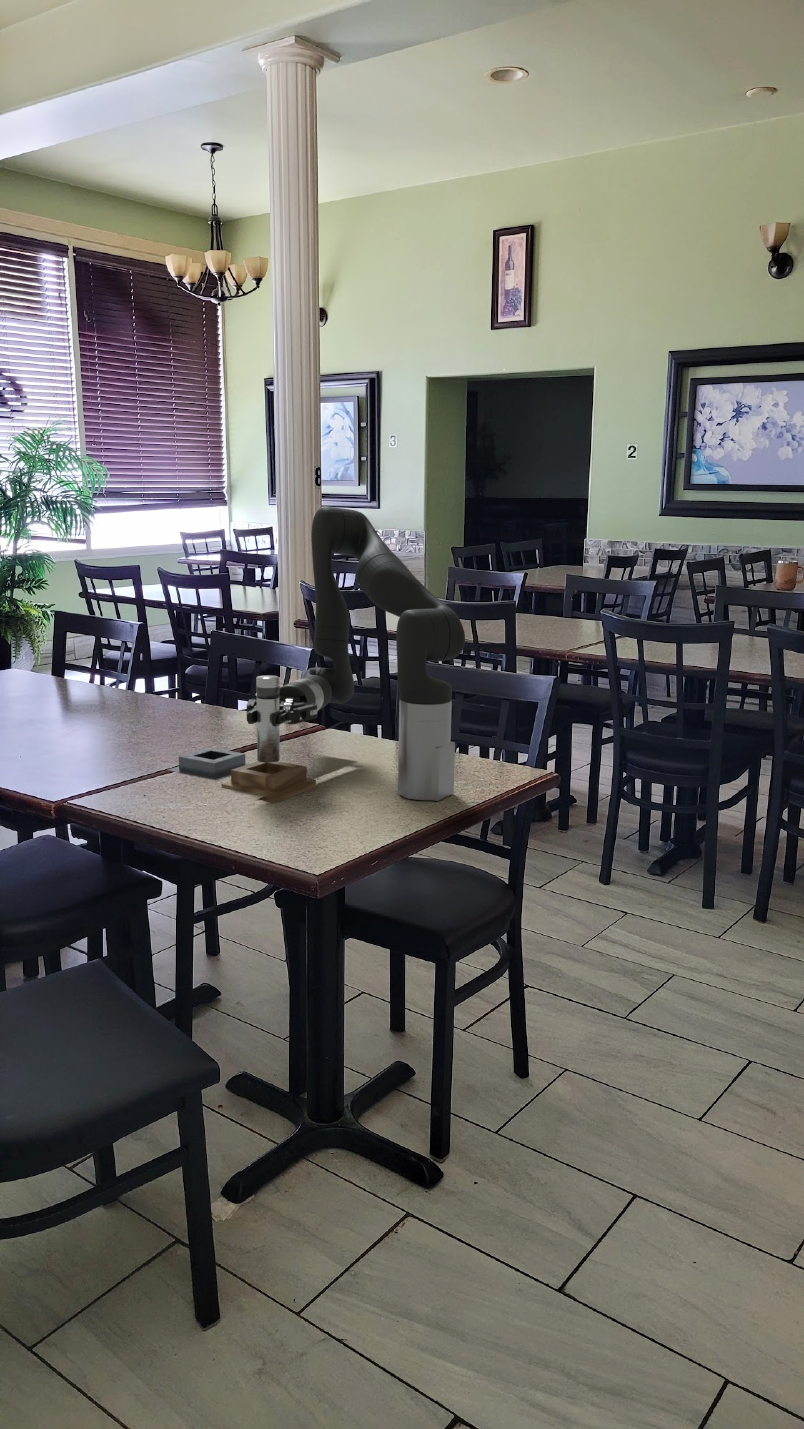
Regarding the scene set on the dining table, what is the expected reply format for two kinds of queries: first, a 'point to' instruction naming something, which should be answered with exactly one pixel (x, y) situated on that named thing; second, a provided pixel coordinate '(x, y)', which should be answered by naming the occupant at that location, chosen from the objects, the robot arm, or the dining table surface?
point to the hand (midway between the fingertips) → (262, 719)
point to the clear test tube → (267, 718)
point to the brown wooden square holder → (271, 780)
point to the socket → (210, 763)
